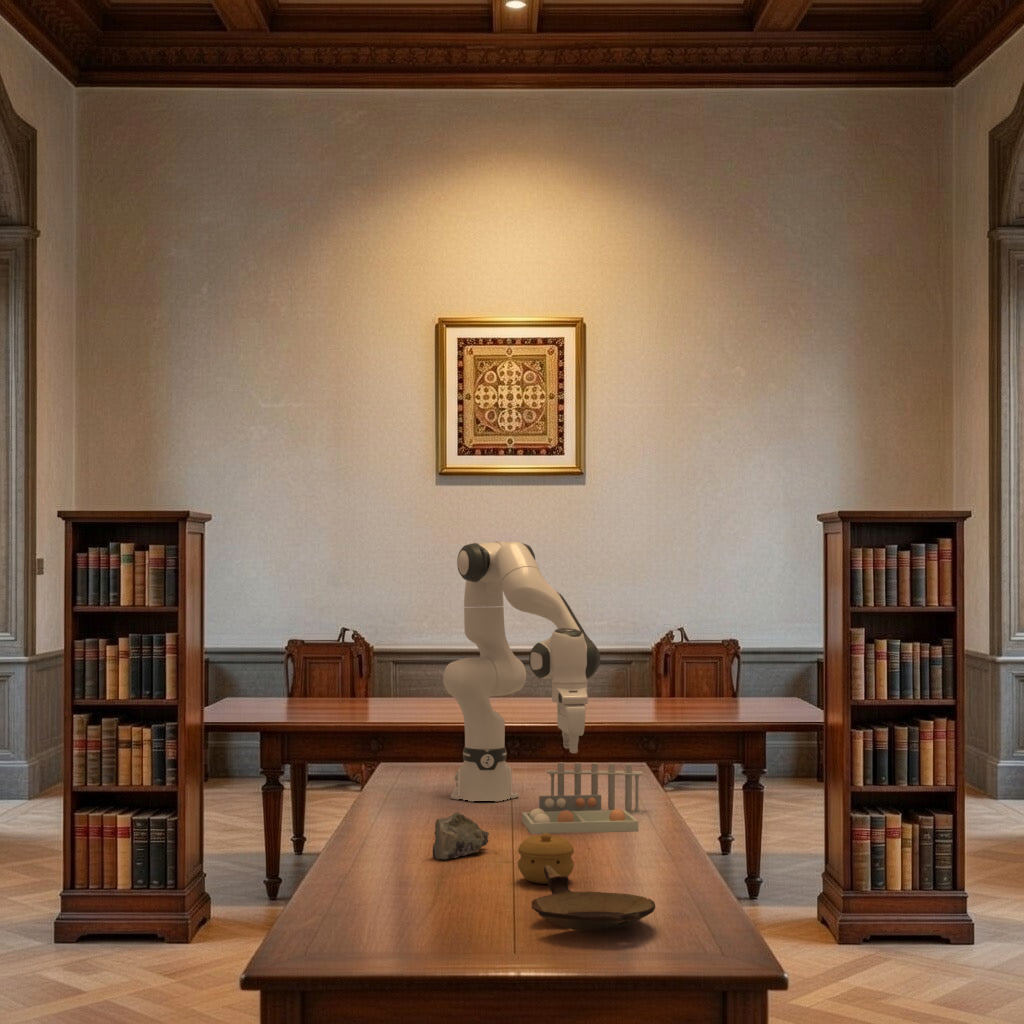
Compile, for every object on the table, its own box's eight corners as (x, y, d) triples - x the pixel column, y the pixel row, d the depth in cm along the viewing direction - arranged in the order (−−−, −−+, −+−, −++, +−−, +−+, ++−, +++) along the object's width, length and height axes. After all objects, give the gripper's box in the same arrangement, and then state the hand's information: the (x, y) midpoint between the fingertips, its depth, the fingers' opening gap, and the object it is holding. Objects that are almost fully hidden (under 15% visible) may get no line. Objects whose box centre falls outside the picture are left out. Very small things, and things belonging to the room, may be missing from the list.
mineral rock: (488, 851, 316) (488, 806, 316) (491, 861, 305) (491, 815, 306) (431, 851, 315) (432, 807, 315) (432, 862, 304) (433, 816, 305)
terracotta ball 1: (556, 825, 343) (556, 809, 343) (572, 824, 343) (572, 808, 343) (559, 828, 339) (559, 812, 339) (575, 828, 339) (575, 811, 339)
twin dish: (522, 824, 347) (522, 812, 347) (625, 821, 351) (625, 809, 351) (531, 836, 332) (531, 823, 332) (638, 833, 336) (638, 821, 336)
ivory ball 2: (532, 828, 338) (532, 812, 339) (548, 828, 339) (548, 811, 339) (535, 831, 335) (535, 815, 335) (551, 831, 335) (551, 814, 335)
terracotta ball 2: (607, 824, 344) (607, 807, 345) (623, 823, 345) (623, 807, 345) (611, 827, 341) (611, 810, 341) (627, 826, 341) (627, 810, 341)
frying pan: (540, 949, 239) (540, 904, 239) (522, 904, 269) (523, 865, 269) (667, 946, 241) (667, 902, 241) (636, 902, 271) (636, 863, 271)
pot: (534, 891, 279) (534, 841, 279) (507, 878, 289) (507, 830, 290) (584, 884, 284) (584, 836, 285) (556, 872, 295) (556, 825, 295)
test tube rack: (642, 813, 363) (642, 762, 363) (642, 816, 358) (642, 765, 359) (547, 811, 365) (547, 761, 365) (546, 814, 360) (546, 763, 361)
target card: (539, 819, 353) (539, 795, 353) (600, 818, 355) (600, 794, 355) (539, 820, 352) (539, 796, 352) (601, 819, 354) (601, 795, 354)
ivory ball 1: (528, 823, 345) (528, 807, 345) (544, 822, 346) (544, 806, 346) (530, 826, 341) (531, 810, 341) (546, 826, 342) (546, 809, 342)
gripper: (550, 691, 352) (551, 745, 352) (563, 698, 332) (564, 756, 331) (575, 690, 353) (576, 745, 352) (589, 697, 333) (590, 755, 332)
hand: (570, 750), depth 342 cm, fingers open, 8 cm apart
